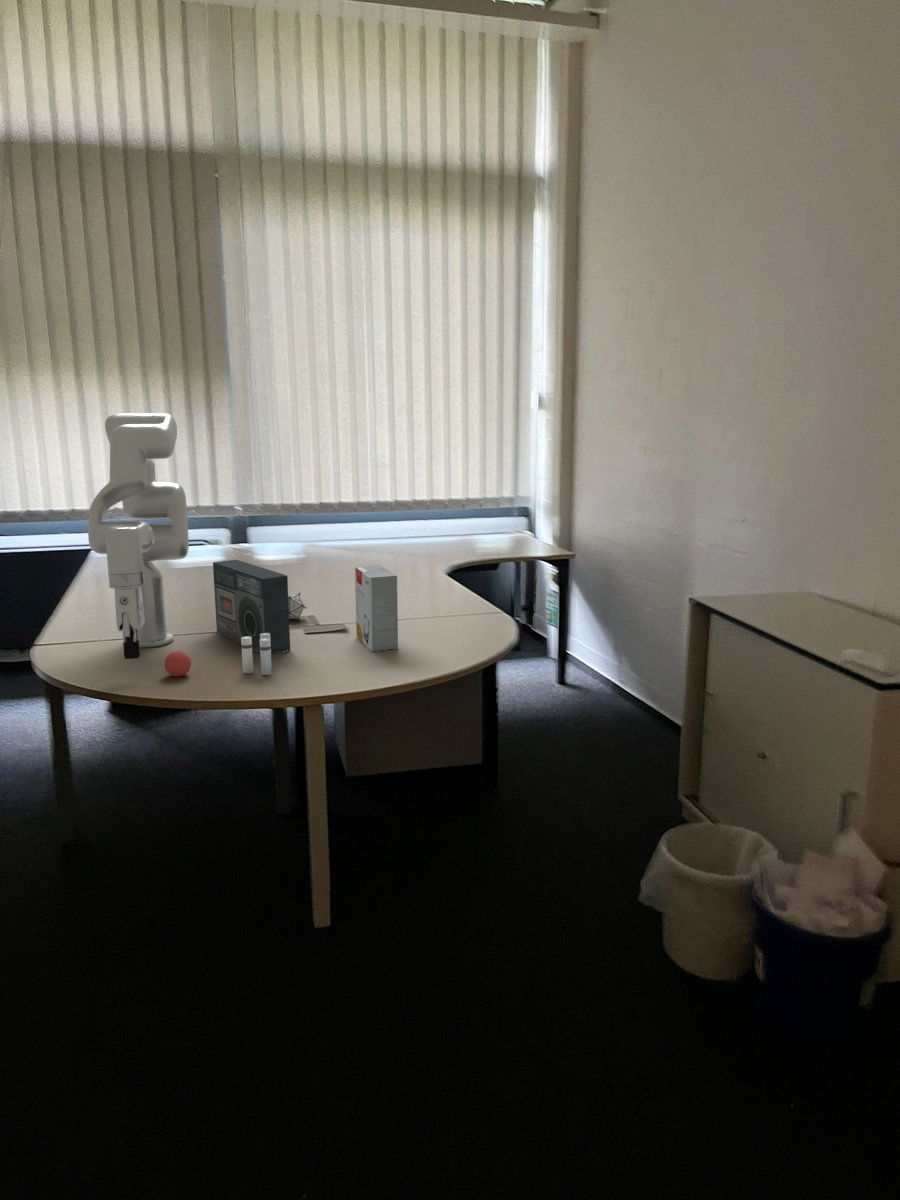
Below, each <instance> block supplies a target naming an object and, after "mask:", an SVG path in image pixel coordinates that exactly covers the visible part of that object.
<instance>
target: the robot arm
mask: <svg viewBox="0 0 900 1200" xmlns="http://www.w3.org/2000/svg"><path fill="white" fill-rule="evenodd" d="M104 428H105V429H104V430H105V434H106V437H107V440H108V442H109V481H108V483H106V484H105V485H104V486H103V487H102V489H100V491H99V492H97V494H96V496H95V497H94V498H93V500H92V502H91V504H90V507H89V511H88V526H87V527H88V528H87V531H88V532H87V533H88V534H87V538H88V545H89V547H90V549H91V550H92V551H93V552H94V553H95V554H100V555H106V562H107V563H106V564H107V572H108V573H107V574H108V585H109V586H108V587H109V588H110V589H112V590H114V606H115V607H114V608H115V621H116V629H117V630H118V631H119V632H122V641H123V655H124V656H123V657H124V659H125V660H131V659H139V658H140V657H141V653H140V652H141V651H140V648H142V649H143V648H153V647H155V648H156V647H160V646H164V645H167V644H170V643H171V642H173V641H174V635H173V633H171V632H167V631H168V630H167V618H166V617H167V616H166V614H167V613H166V605H165V603H166V602H165V590H164V589H165V587H164V578H163V575H162V573H161V571H160V569H159V568H158V567H156V565H155V564H154V563H153V562H155V561H156V562H157V561H174V560H175V561H177V560H182V559H185V558H186V557H188V553H189V549H190V548H189V545H190V544H189V543H190V542H189V526H188V524H189V523H188V507H187V505H188V504H187V498H186V494H185V493H186V492H185V490H184V488H183V487H182V485H181V484H179V483H177V482H167V481H166V482H157V480H156V470H155V467H156V466H155V463H154V461H153V460H154V459H155V460H157V459H158V460H160V459H161V460H162V459H163V460H165V459H169V458H171V456H172V455H173V453H174V451H175V446H176V442H177V436H178V426H177V422H176V420H175V418H174V417H173V415H171V414H170V413H164V412H162V413H161V412H160V413H158V412H154V413H153V412H152V413H151V412H144V413H143V412H142V413H141V412H123V413H121V412H120V413H115V414H112V415H108V417H107V418H106V419H105V423H104ZM121 502H122V509H123V512H124V515H125V516H126V517H128V518H129V519H132V520H129V521H128V520H127V521H125V520H124V521H123V520H121V521H114V520H113V521H103V519H104V516H105V514H106V513H107V512H108V510H110V509H111V508H112V507H113V506H115V505H117V504H118V503H121ZM162 519H163V520H168V521H169V523H148V522H146V521H141V520H162ZM134 520H135V521H134Z"/></svg>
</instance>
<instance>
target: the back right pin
mask: <svg viewBox="0 0 900 1200" xmlns="http://www.w3.org/2000/svg"><path fill="white" fill-rule="evenodd" d="M259 653H260V672H261V673H260V674H261V676H263V675H269V676H271V675H272V674H273V673H272V668H271V664H272V654H271V645H270V639H268V638H264V639H260V652H259Z"/></svg>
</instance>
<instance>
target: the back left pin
mask: <svg viewBox="0 0 900 1200" xmlns="http://www.w3.org/2000/svg"><path fill="white" fill-rule="evenodd" d="M264 638H268V639H270V633H262V634H260V639H264ZM270 645H271V640H270ZM272 664H273V663H271V669H272V668H273V667H272Z"/></svg>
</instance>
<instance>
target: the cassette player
mask: <svg viewBox="0 0 900 1200" xmlns="http://www.w3.org/2000/svg"><path fill="white" fill-rule="evenodd" d="M212 571H213V586H214V587H213V589H214V590H213V591H214V604H215V620H216V622H215V623H216V633H217V634H220V635H222V636H224V637H227V638H228V637H229V639H230V638H231V640H232V639H233V641H235V640H236V641H235V642H237V641H238V642H237V643H239V642H241V638H242V637H251V638H252V648H253V649H252V650H254V649H255V650H254V651H256V650H257V651H256V652H258V651H260V634H262V633H270V640H271V655H273V654H272V653H275V654H278V653H277V652H280V653H284V652H283V651H286V652H288V651H287V650H290V651H291V633H290V632H291V631H290V630H291V629H290V619H289V603H288V595H289V585H288V584H289V581H288V575H287V574H284V573H279V572H277V571H274V570H271V569H267V568H265V567H261V566H259V565H255V564H251V563H248V562H244V561H242V560H239V559H230V560H229V559H228V560H222V561H221V560H220V561H213V562H212Z"/></svg>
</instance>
